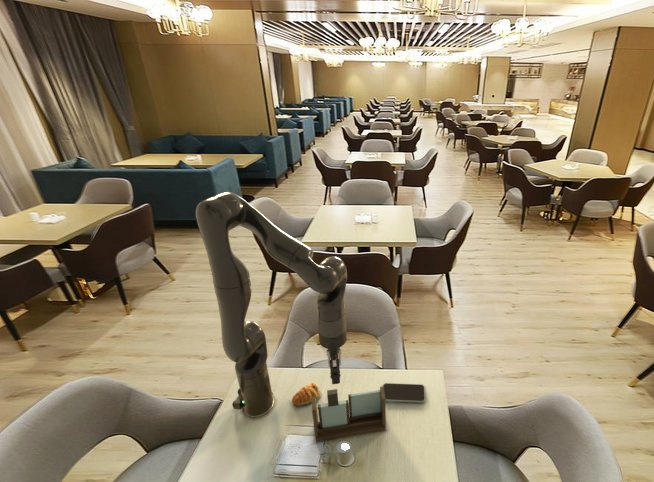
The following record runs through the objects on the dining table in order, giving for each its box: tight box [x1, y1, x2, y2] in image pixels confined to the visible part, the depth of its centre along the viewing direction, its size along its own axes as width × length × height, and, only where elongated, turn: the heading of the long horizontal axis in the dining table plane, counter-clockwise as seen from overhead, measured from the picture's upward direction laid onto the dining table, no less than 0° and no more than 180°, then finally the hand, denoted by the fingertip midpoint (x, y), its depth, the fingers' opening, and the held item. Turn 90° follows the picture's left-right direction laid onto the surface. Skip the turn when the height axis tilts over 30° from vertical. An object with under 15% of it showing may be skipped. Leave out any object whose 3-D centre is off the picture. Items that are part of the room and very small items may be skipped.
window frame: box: [311, 385, 387, 443], centre depth 110 cm, size 6×22×14 cm, turn 102°
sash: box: [317, 388, 350, 429], centre depth 108 cm, size 2×9×15 cm, turn 102°
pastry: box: [291, 382, 322, 407], centre depth 123 cm, size 9×7×4 cm
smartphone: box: [382, 382, 426, 404], centre depth 126 cm, size 7×1×15 cm
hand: (335, 371), depth 102 cm, fingers open, 8 cm apart
